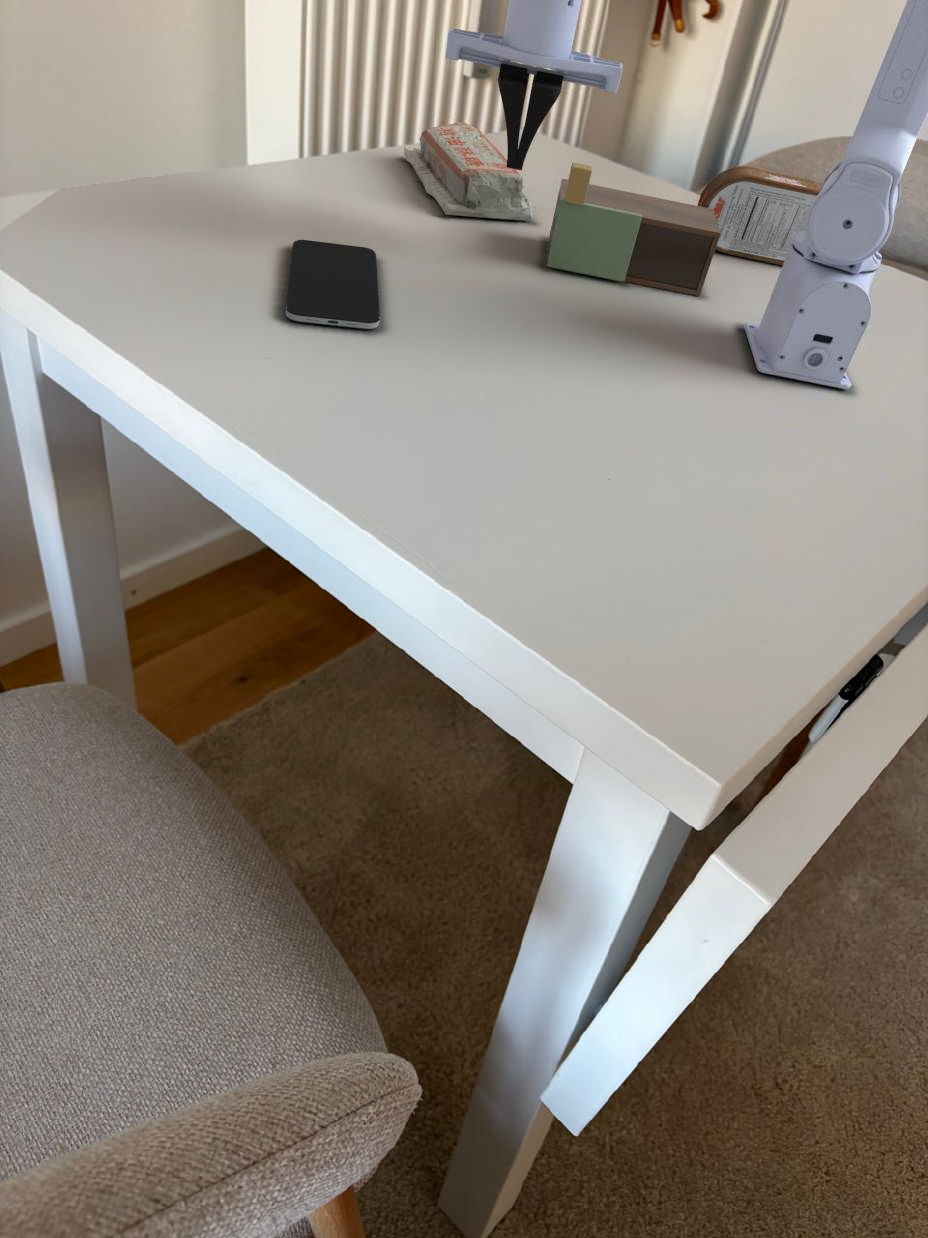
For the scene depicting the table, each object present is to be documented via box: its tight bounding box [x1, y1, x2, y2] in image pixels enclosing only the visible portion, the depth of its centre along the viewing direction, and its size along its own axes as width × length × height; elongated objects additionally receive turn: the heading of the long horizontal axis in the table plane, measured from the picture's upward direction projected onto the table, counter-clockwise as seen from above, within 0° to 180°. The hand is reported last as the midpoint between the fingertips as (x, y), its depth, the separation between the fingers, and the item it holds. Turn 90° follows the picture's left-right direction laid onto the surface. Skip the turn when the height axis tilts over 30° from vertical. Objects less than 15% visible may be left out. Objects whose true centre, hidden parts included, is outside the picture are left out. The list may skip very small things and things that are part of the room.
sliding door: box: [546, 161, 642, 283], centre depth 85 cm, size 1×8×9 cm, turn 84°
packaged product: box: [403, 121, 536, 222], centre depth 100 cm, size 18×5×10 cm
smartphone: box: [285, 239, 381, 330], centre depth 77 cm, size 7×1×15 cm
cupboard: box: [545, 178, 721, 297], centre depth 90 cm, size 7×15×6 cm, turn 84°
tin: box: [697, 165, 823, 266], centre depth 97 cm, size 15×3×8 cm, turn 84°
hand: (514, 165), depth 83 cm, fingers closed
